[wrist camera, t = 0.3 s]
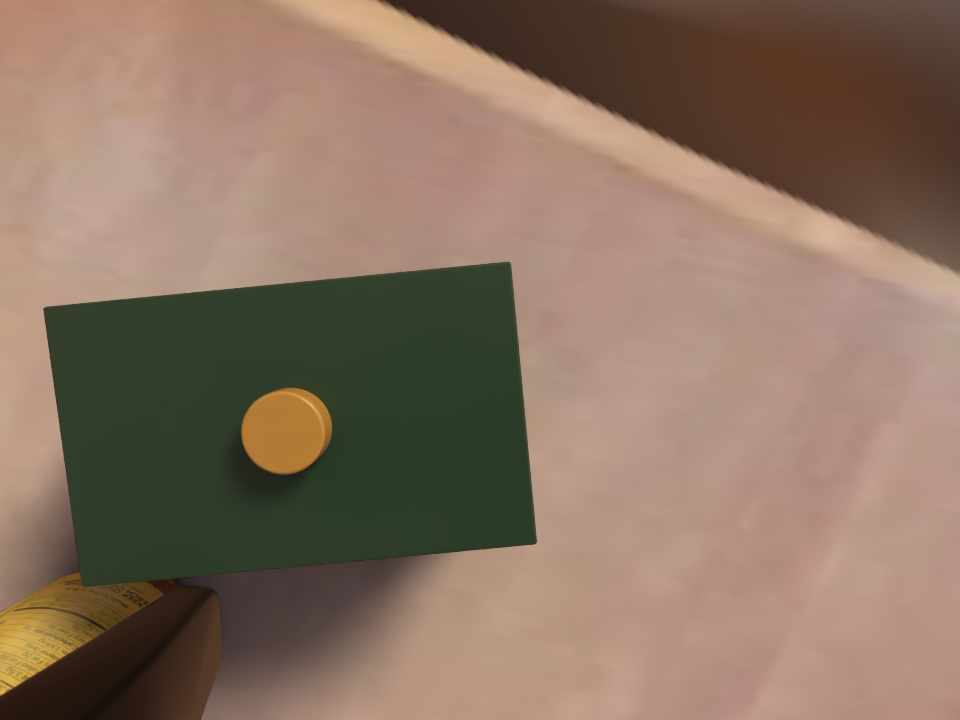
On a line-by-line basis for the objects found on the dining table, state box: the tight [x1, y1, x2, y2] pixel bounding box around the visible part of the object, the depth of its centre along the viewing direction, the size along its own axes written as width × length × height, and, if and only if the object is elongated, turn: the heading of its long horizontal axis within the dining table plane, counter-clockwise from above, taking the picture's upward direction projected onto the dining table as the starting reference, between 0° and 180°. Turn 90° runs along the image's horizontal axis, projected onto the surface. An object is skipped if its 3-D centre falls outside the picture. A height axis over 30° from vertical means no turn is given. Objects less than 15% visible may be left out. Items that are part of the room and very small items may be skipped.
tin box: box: [43, 262, 537, 587], centre depth 19 cm, size 6×10×9 cm, turn 95°
